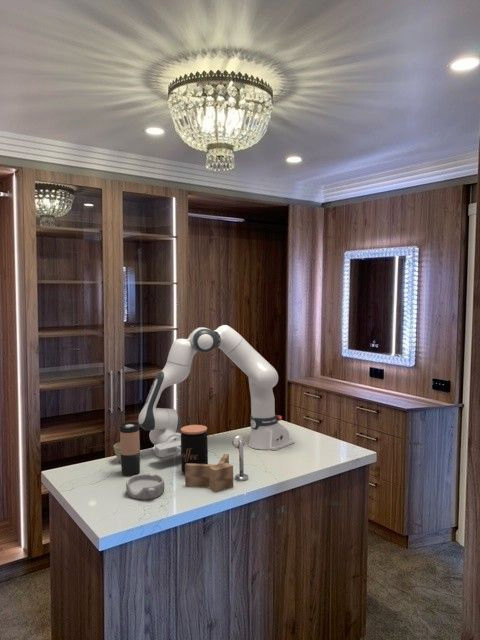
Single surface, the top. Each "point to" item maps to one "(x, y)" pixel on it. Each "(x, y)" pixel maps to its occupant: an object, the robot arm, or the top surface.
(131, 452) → the travel mug
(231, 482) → the wooden l-shaped bracket
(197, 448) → the coffee jar
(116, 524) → the top surface
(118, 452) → the flower pot
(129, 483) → the dish
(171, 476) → the top surface
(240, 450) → the metal ball stand
